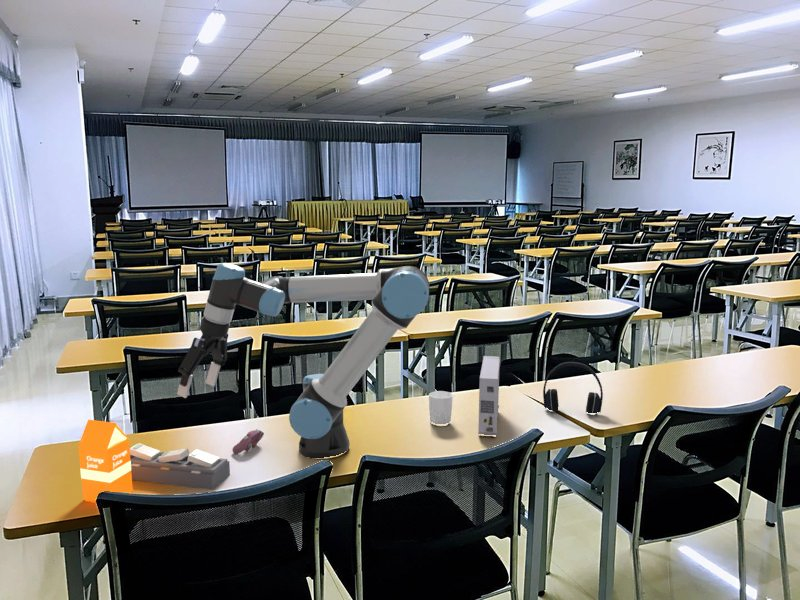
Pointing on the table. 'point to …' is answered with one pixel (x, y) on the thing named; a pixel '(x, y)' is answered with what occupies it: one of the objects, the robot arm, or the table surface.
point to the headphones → (593, 398)
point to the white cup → (440, 407)
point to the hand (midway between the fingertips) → (196, 390)
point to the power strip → (179, 472)
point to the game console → (489, 395)
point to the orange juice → (104, 460)
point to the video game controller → (248, 441)
